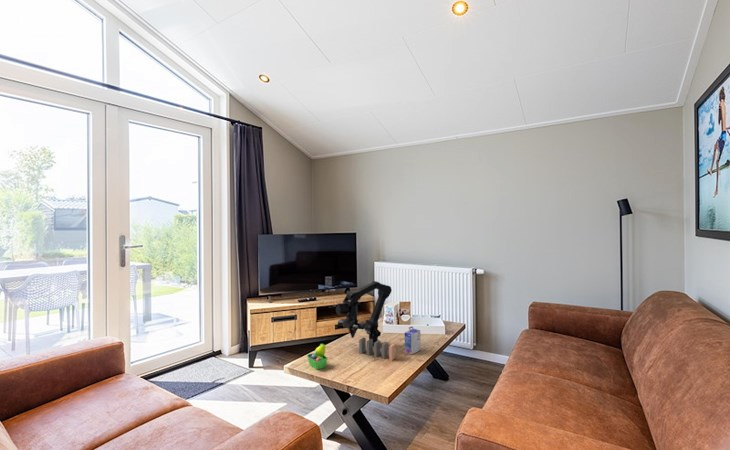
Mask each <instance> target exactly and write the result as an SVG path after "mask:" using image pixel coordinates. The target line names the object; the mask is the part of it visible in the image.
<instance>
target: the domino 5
mask: <svg viewBox="0 0 730 450" xmlns="http://www.w3.org/2000/svg"><path fill="white" fill-rule="evenodd" d="M395 358H396V343H391V344H390V345H388V360H389V361H391V362H392V361H393V360H394V359H395Z"/></svg>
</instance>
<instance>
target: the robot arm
mask: <svg viewBox="0 0 730 450" xmlns="http://www.w3.org/2000/svg"><path fill="white" fill-rule="evenodd" d="M374 290H377V295H378V296H377V299H376V303H375V304H374V308H373V311H372V314H371V316H370V318H369V319H365V321H360V322H359V320H358V316H359V313H358V305H360V304H361V303H360V302H359V300H361V298H362V297H363V296H365V295H367V294H368V293H370V292H372V291H374ZM391 293H392V287H391V286H390V285H388V284H383V283H380V282H379V281H376V280H373V281H372V282H370V283H368V284H367V285H364V286H363V287H360V288H358V289H353V290H349V291H348V292H347V293H346V296H345V297H344V299H343V300H342V302H341V303H340V302H337V305H336V307H335V313H336V314H337V316H342V315H346V317H345V318H340V319H339V320H338V321H337V325H338V326H342V327H343V328H346V329H347V330H348V331H349V333H350V336H351V339H354V337H355V335H356V333H357V330H358V329H359V330H364V331H365V332H366V334H367V335H368V340H370V339H373V347H374V343H375V342H376V341H378V340H379V337H381V334H382V332H381V331H380V330H379V319H380V316H381V312H382V311H383V308H384V305H385V302H386V299H388V298H389V297H390V295H391Z"/></svg>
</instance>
